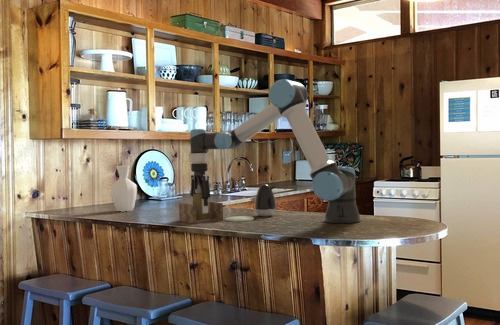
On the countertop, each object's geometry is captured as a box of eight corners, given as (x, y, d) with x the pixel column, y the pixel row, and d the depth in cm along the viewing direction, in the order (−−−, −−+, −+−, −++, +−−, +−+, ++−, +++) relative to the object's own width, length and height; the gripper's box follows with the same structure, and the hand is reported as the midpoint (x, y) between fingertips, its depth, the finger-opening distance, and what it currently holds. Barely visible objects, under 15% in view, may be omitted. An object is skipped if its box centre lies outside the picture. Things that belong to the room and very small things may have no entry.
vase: (143, 210, 308) (141, 165, 308) (124, 213, 296) (122, 166, 296) (124, 209, 316) (123, 165, 315) (105, 212, 304) (104, 166, 303)
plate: (259, 219, 251) (259, 218, 251) (234, 222, 244) (234, 220, 244) (244, 217, 262) (244, 215, 262) (220, 219, 255) (220, 218, 255)
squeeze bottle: (196, 222, 250) (194, 182, 249) (189, 220, 257) (188, 181, 256) (212, 220, 253) (211, 181, 253) (205, 218, 260) (204, 180, 260)
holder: (223, 220, 252) (222, 202, 252) (193, 223, 245) (193, 205, 245) (208, 217, 265) (207, 200, 265) (179, 220, 258) (179, 203, 257)
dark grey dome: (275, 217, 259) (274, 184, 259) (253, 217, 261) (252, 184, 261) (278, 214, 269) (277, 183, 269) (257, 214, 271) (256, 183, 271)
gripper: (217, 162, 247) (218, 213, 248) (196, 162, 265) (198, 209, 266) (202, 163, 243) (203, 215, 244) (182, 163, 261) (183, 211, 262)
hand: (200, 212), depth 255 cm, fingers closed on squeeze bottle, 8 cm apart
